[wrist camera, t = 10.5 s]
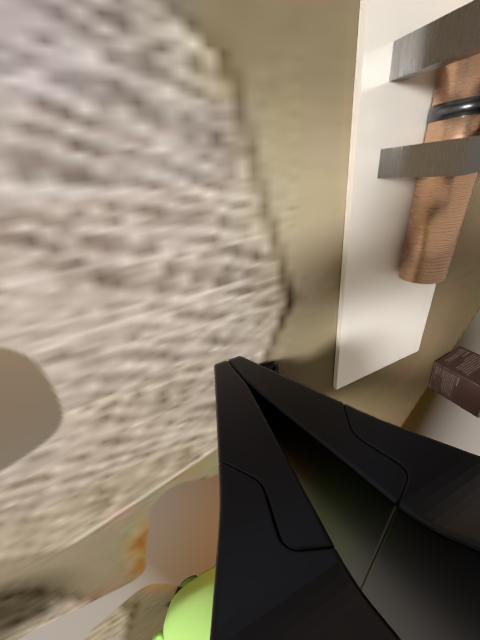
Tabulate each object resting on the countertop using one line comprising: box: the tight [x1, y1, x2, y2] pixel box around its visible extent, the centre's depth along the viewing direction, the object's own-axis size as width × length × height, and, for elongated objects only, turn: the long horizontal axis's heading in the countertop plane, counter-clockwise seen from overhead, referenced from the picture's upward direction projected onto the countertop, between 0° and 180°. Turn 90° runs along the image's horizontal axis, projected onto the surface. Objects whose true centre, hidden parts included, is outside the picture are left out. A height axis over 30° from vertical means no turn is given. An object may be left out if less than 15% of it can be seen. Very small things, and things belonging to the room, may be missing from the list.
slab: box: [333, 0, 473, 390], centre depth 26 cm, size 33×14×1 cm, turn 8°
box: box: [429, 346, 480, 418], centre depth 40 cm, size 6×6×7 cm
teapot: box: [151, 566, 216, 640], centre depth 36 cm, size 22×15×13 cm
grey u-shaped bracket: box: [377, 0, 480, 178], centre depth 18 cm, size 8×9×6 cm
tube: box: [398, 53, 480, 284], centre depth 21 cm, size 18×4×4 cm, turn 7°
